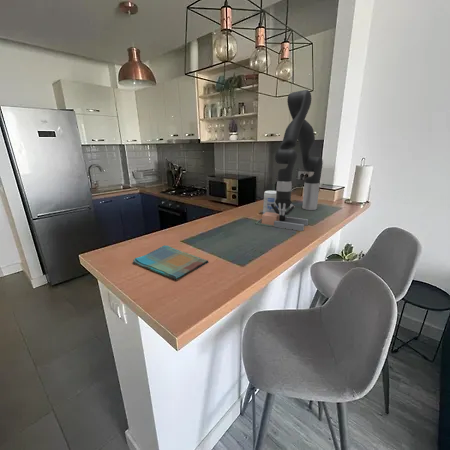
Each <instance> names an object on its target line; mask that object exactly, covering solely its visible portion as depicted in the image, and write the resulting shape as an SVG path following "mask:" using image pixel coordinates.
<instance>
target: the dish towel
mask: <svg viewBox="0 0 450 450" xmlns="http://www.w3.org/2000/svg"><path fill="white" fill-rule="evenodd" d="M208 263H209V260H208V259H205V258H201V257H200V256H196V255H193V254H192V253H188V252H185V251H181V250H180V249H176V248H174V247H173V246H170V245H162V246H160V247H159V248H157V249H154V250H152V251H150V252H148V253H147V254H144V255H142V256H138V257H135V258H134V259H133V260H132V264H133V265H136V266H137V267H138V266H139V267H141V268H144V269H147V270H150V271H153V272H155V273H156V274H158V275H159V274H160V275H161V276H164V277H166V278H169V279H172V280H174V281H176V282H177V281H180V280H181V279H183V278H184V277H186V276H188V275H190V274H191V273H193V272H195V271H197V270H198V269H200V268H202V267H204V266H205V265H207V264H208Z"/></svg>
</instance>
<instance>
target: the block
mask: <svg viewBox="0 0 450 450" xmlns="http://www.w3.org/2000/svg"><path fill="white" fill-rule="evenodd" d="M261 219H262V220H261V224H267V225H273V226H274V221H279V214H276V213H270V212H266V213H264V214H263V213H262V215H261Z"/></svg>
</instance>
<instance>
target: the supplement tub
mask: <svg viewBox="0 0 450 450" xmlns="http://www.w3.org/2000/svg"><path fill="white" fill-rule="evenodd" d="M275 200H276V190H265V191H264V194H263V207H262V209H263V210H262V211H263V212H262V215H263V214H264V213H266V212H270V213H276V212H275V211H274V209H273V208H272V206H271V204H273V203H275ZM276 207H277V208H278V206H277V205H276ZM278 210H279V208H278Z"/></svg>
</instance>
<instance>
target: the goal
mask: <svg viewBox="0 0 450 450" xmlns="http://www.w3.org/2000/svg"><path fill="white" fill-rule="evenodd" d="M260 222H261V223H260ZM255 225H260V226H266V227H274V225H268V224H262V218H259V220H257V221H256V222H255Z"/></svg>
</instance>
